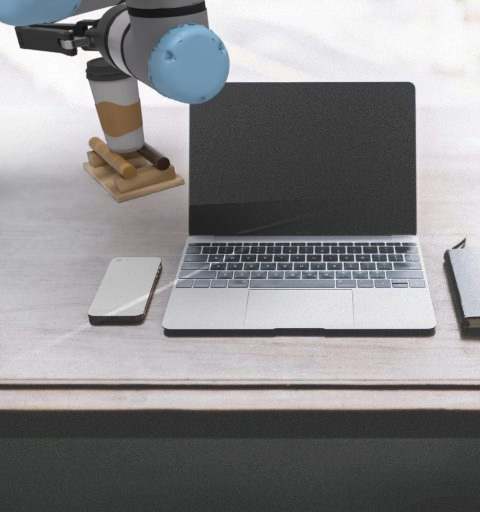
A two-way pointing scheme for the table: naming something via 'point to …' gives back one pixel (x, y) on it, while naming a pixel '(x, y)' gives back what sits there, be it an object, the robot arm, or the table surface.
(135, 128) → the coffee cup
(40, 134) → the table surface
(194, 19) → the robot arm
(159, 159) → the rod rack
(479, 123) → the table surface
